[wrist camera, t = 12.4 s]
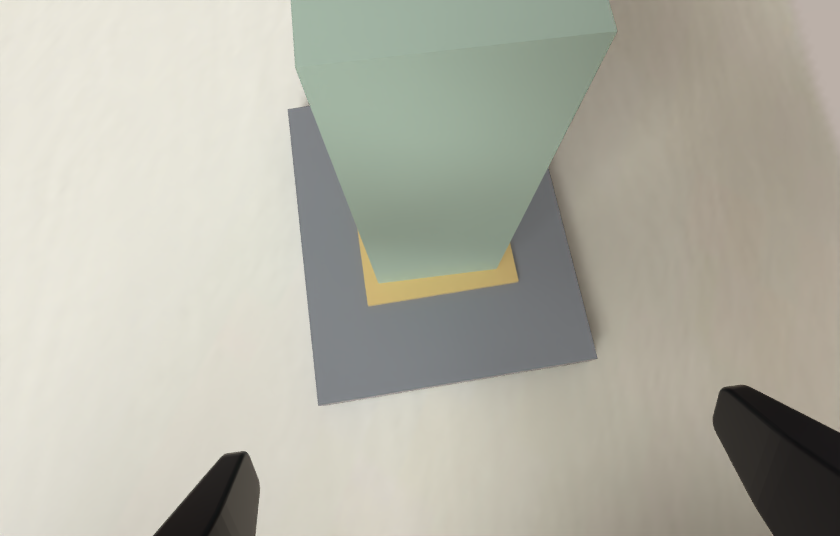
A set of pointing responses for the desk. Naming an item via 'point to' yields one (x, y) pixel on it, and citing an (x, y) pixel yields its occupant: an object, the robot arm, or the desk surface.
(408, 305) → the pad
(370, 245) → the sage block
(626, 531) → the desk surface
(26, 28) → the desk surface
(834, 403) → the desk surface
